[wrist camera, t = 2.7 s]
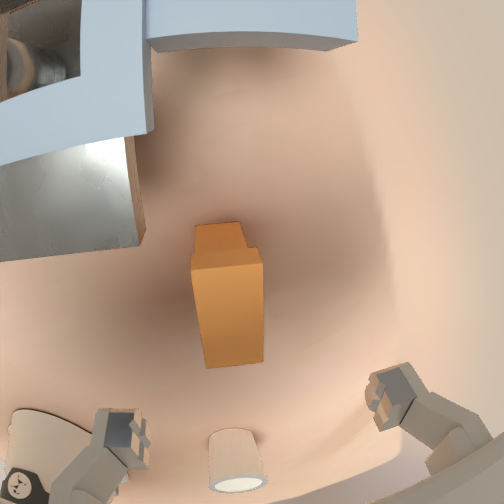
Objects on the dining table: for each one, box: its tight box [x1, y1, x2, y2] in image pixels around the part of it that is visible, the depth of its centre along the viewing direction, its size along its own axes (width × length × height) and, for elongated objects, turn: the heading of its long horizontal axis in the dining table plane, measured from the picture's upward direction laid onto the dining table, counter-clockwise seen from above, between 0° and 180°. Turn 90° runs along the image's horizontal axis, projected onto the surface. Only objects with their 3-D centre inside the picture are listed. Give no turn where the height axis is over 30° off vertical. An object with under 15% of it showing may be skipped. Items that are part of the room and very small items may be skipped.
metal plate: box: [0, 0, 146, 262], centre depth 10 cm, size 16×16×10 cm
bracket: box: [0, 0, 358, 166], centre depth 6 cm, size 8×13×3 cm, turn 91°
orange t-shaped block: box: [190, 222, 263, 369], centre depth 18 cm, size 6×3×8 cm, turn 1°
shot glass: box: [209, 428, 268, 493], centre depth 31 cm, size 7×7×7 cm
